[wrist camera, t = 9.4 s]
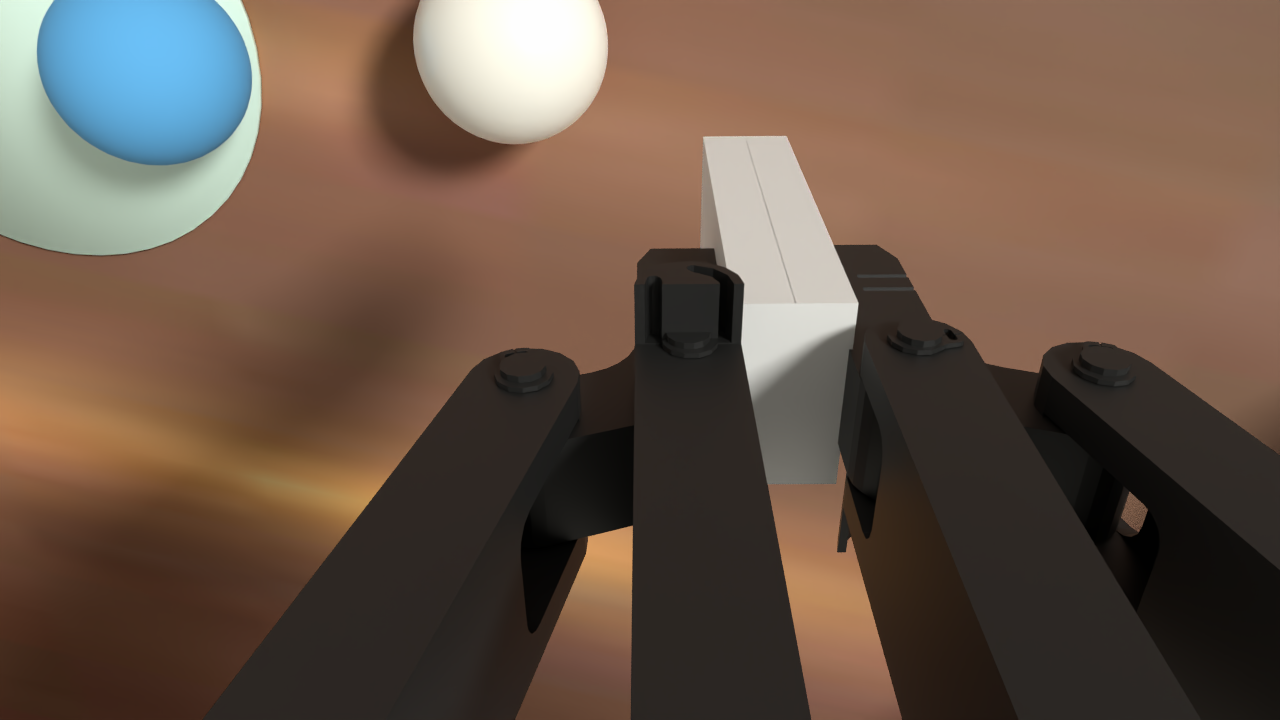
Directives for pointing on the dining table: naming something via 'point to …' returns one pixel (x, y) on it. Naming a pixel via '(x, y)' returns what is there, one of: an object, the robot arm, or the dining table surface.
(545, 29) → the white cue ball
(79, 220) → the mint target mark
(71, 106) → the blue object ball
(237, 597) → the dining table surface
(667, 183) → the dining table surface
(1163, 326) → the dining table surface
